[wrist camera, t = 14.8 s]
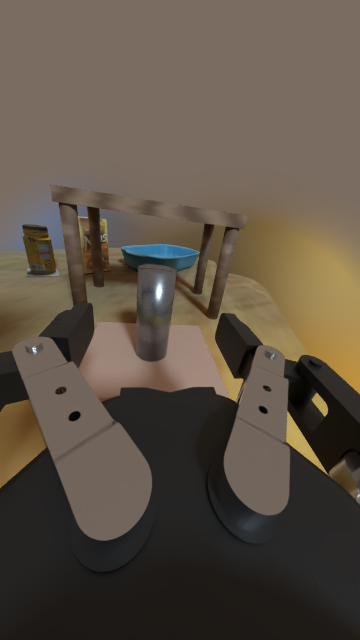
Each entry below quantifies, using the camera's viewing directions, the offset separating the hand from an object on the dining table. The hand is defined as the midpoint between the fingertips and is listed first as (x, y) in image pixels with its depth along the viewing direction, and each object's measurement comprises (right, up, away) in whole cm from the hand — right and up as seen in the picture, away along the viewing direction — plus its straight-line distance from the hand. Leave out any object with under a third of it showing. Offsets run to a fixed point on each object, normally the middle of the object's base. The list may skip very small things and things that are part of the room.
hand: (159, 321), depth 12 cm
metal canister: (-3, -4, +16) cm, 16 cm away
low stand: (-6, +5, +34) cm, 35 cm away
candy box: (-26, +16, +49) cm, 58 cm away
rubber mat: (-3, -5, +16) cm, 17 cm away
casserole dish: (-6, +23, +68) cm, 72 cm away
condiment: (-37, +13, +42) cm, 58 cm away
